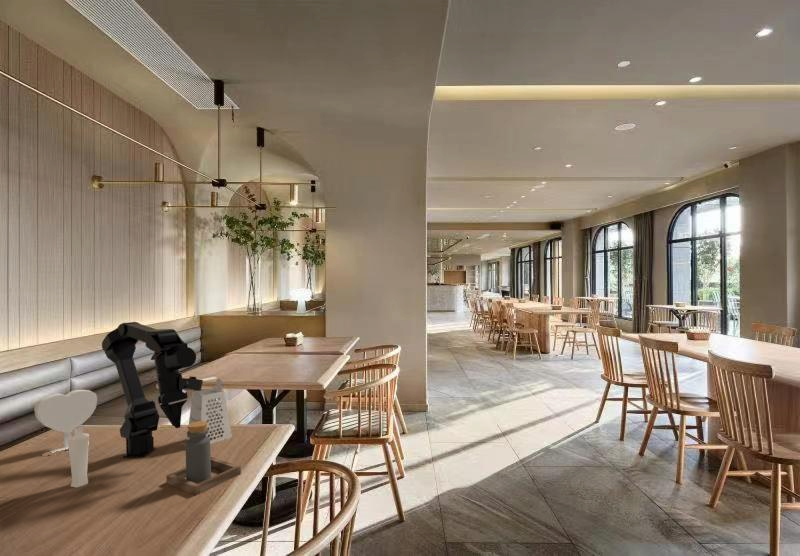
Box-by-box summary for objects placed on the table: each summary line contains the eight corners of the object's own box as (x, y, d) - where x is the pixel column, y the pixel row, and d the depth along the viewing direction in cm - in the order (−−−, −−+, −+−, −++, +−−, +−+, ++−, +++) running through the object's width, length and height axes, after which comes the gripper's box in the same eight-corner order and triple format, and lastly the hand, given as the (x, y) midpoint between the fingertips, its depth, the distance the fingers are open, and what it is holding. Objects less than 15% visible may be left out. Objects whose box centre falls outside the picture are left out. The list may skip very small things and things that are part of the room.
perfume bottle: (95, 480, 110) (94, 424, 111) (78, 488, 106) (77, 430, 106) (83, 478, 112) (82, 423, 112) (66, 486, 108) (65, 428, 108)
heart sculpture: (93, 439, 142) (92, 386, 142) (99, 442, 138) (98, 388, 139) (34, 455, 129) (33, 397, 129) (38, 458, 126) (37, 399, 126)
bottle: (209, 484, 107) (207, 426, 107) (184, 487, 105) (182, 428, 105) (212, 474, 113) (211, 419, 113) (189, 477, 111) (187, 421, 111)
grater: (231, 437, 140) (230, 378, 140) (200, 447, 132) (198, 384, 132) (217, 430, 147) (216, 374, 147) (186, 439, 139) (185, 379, 139)
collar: (166, 483, 108) (166, 475, 108) (211, 464, 119) (211, 457, 119) (195, 495, 101) (195, 487, 101) (240, 473, 112) (240, 466, 112)
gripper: (202, 364, 117) (212, 419, 115) (194, 367, 132) (202, 416, 130) (157, 373, 111) (166, 432, 109) (154, 376, 126) (162, 428, 124)
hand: (176, 426), depth 118 cm, fingers open, 9 cm apart
